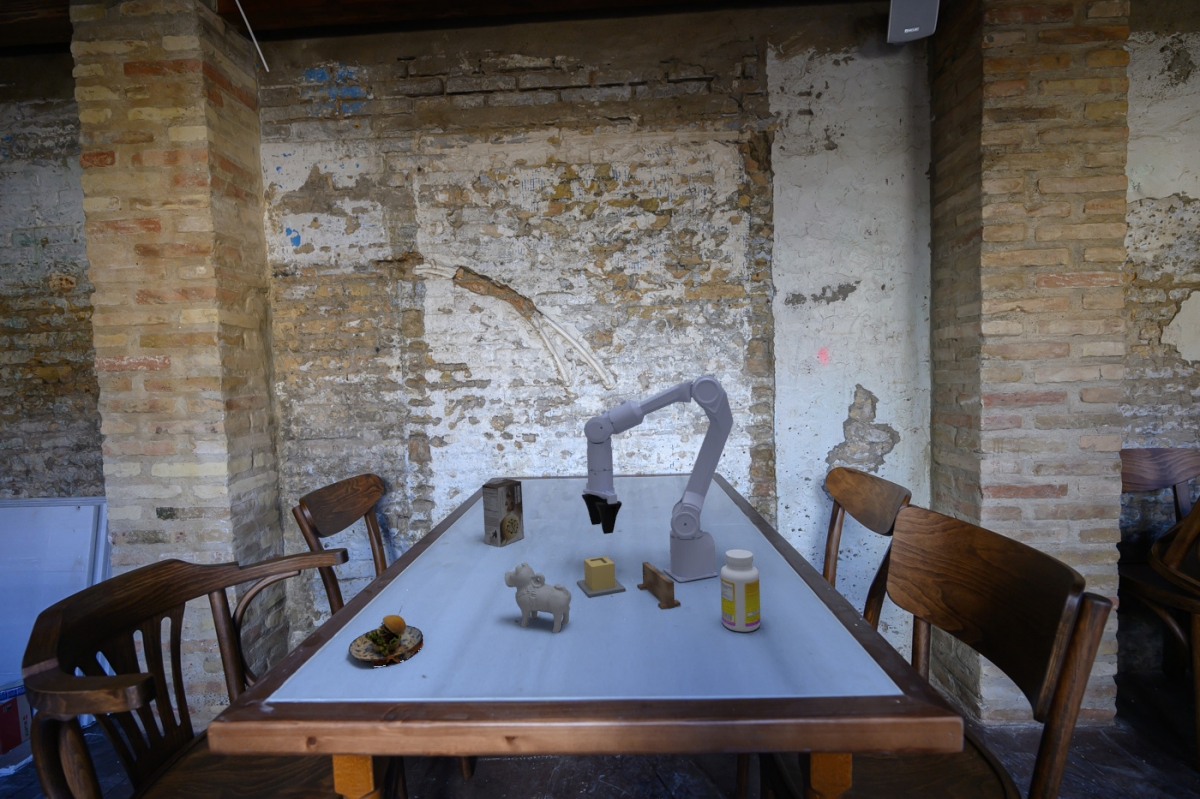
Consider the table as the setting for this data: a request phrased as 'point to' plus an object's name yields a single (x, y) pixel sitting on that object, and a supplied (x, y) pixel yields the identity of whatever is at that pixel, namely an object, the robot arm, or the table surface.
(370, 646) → the burger
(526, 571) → the dog figurine
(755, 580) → the supplement bottle
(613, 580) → the cube
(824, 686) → the table surface
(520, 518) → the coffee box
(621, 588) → the coaster
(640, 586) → the wooden board
